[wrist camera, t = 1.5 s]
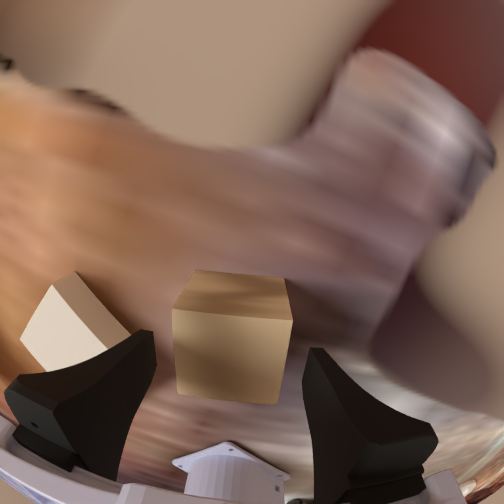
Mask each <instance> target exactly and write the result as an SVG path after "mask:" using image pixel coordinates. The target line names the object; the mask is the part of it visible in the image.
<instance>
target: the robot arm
mask: <svg viewBox="0 0 504 504" xmlns="http://www.w3.org/2000/svg"><path fill="white" fill-rule="evenodd" d="M156 366H157V363H156V354H155V346H154V336H153V331H147V330H142V329H141V330H139V331H137V332H136V333H134V334H132V335H131V336H129V337H128V338H126V339H125V340H123V341H121V342H120V343H118V344H116V345H115V346H113V347H111V348H110V349H108V350H106V351H104V352H102V353H100V354H98V355H97V356H95V357H93V358H90V359H88V360H86V361H83V362H81V363H78V364H75V365H72V366H69V367H66V368H62V369H59V370H54V371H49V372H43V373H36V374H20V375H19V376H18V377H17V378H16V379H15V380H14V381H13V382H12V383H11V384H10V385H9V386H8V387H7V388H6V389H5V392H4V395H5V399H6V401H7V404H8V405H9V407H10V409H11V411H12V412H13V414H14V416H15V417H16V419H17V420H18V422H19V424H20V425H19V426H18V427H17V428H16V427H15V426H14V425H13V424H12V423H10V422H9V421H8V420H6V419H5V418H3V417H2V416H0V478H2V479H3V480H4V481H5V482H7V483H8V484H9V485H10V486H12V487H13V488H14V489H16V490H17V491H19V492H20V493H21V494H23V495H24V496H26V497H27V498H28V499H30V500H31V501H33V502H34V503H36V504H285V502H284V481H287V480H289V479H290V475H289V474H287V473H285V472H283V471H281V470H279V469H277V468H275V467H273V466H271V465H269V464H267V463H266V462H264V461H262V460H260V459H258V458H257V457H255V456H253V455H251V454H250V453H248V452H246V451H245V450H243V449H241V448H240V447H238V446H236V445H235V444H233V443H231V442H223V443H221V444H218V445H216V446H213V447H210V448H207V449H205V450H202V451H199V452H196V453H193V454H190V455H187V456H184V457H181V458H177V459H174V460H173V462H172V463H173V464H174V465H175V466H177V467H178V468H180V469H182V470H184V471H186V472H187V473H188V477H187V482H186V486H185V491H184V493H179V492H174V491H169V490H165V489H160V488H156V487H152V486H149V485H143V484H138V483H130V484H124V485H123V484H120V483H117V482H116V479H117V473H118V468H119V464H120V460H121V456H122V452H123V448H124V445H125V441H126V438H127V435H128V432H129V429H130V426H131V423H132V420H133V418H134V416H135V414H136V412H137V410H138V408H139V406H140V404H141V402H142V400H143V398H144V396H145V394H146V392H147V390H148V388H149V386H150V384H151V381H152V378H153V376H154V373H155V369H156ZM302 390H303V400H304V405H305V410H306V415H307V419H308V424H309V429H310V434H311V439H312V448H313V464H314V504H467V503H466V500H465V498H464V496H463V494H462V491H461V489H460V487H459V485H458V483H457V480H456V478H455V476H454V474H453V472H452V470H451V469H446V470H444V471H441V472H439V473H436V474H433V475H431V476H428V477H427V478H425V479H424V480H423V477H422V475H421V474H423V473H424V468H423V466H422V464H423V463H424V462H425V461H426V460H427V459H428V457H429V456H430V455H431V454H432V453H433V451H434V450H435V449H436V447H437V444H438V437H437V436H436V434H435V432H434V430H433V428H432V426H431V425H430V423H427V422H424V421H421V420H418V419H415V418H412V417H410V416H407V415H405V414H403V413H401V412H398V411H396V410H394V409H393V408H391V407H389V406H387V405H386V404H384V403H382V402H380V401H379V400H377V399H376V398H374V397H373V396H372V395H370V394H369V393H368V392H366V391H365V390H364V389H362V388H361V387H360V386H359V385H358V384H357V383H356V382H354V381H353V380H352V379H351V378H350V377H349V376H348V375H347V374H346V373H345V372H344V371H343V370H342V369H341V368H340V367H339V366H338V364H337V363H336V362H335V361H334V360H333V359H332V358H331V357H330V355H329V354H328V353H327V352H326V351H325V350H324V349H323V348H310V350H309V354H308V358H307V362H306V366H305V370H304V374H303V378H302Z"/></svg>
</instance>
